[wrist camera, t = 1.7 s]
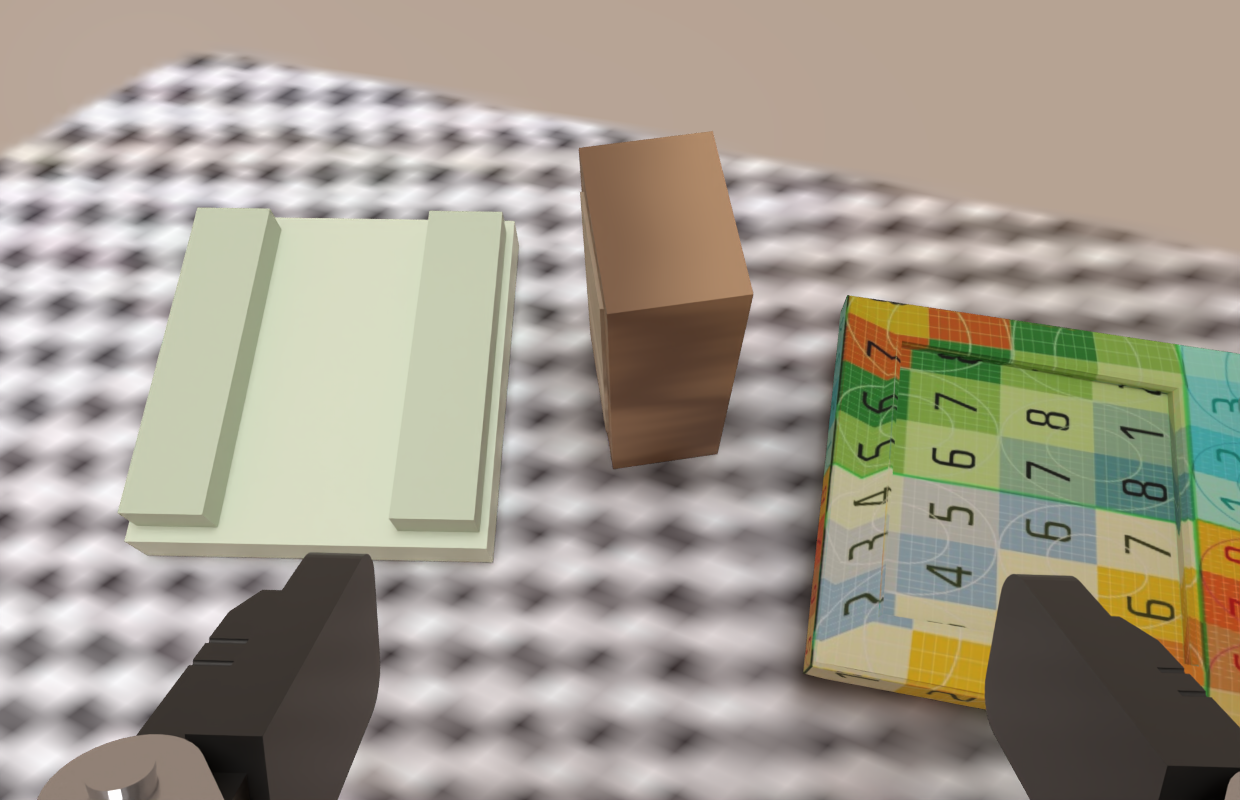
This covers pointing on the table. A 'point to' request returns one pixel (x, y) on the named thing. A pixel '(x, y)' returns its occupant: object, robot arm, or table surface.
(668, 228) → the wooden block
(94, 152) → the table surface
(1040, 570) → the puzzle game
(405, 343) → the plinth
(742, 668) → the table surface
